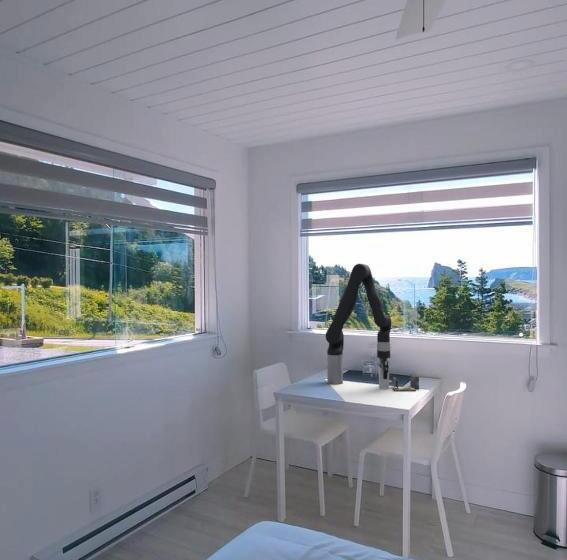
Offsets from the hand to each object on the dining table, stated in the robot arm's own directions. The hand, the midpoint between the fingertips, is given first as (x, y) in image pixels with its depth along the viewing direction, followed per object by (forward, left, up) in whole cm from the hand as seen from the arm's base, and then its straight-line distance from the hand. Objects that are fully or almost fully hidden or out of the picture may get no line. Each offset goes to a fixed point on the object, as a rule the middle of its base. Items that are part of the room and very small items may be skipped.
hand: (384, 377), depth 279 cm
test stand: (+11, -2, -6) cm, 13 cm away
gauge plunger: (+6, -2, -5) cm, 8 cm away
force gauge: (0, 0, -6) cm, 6 cm away
